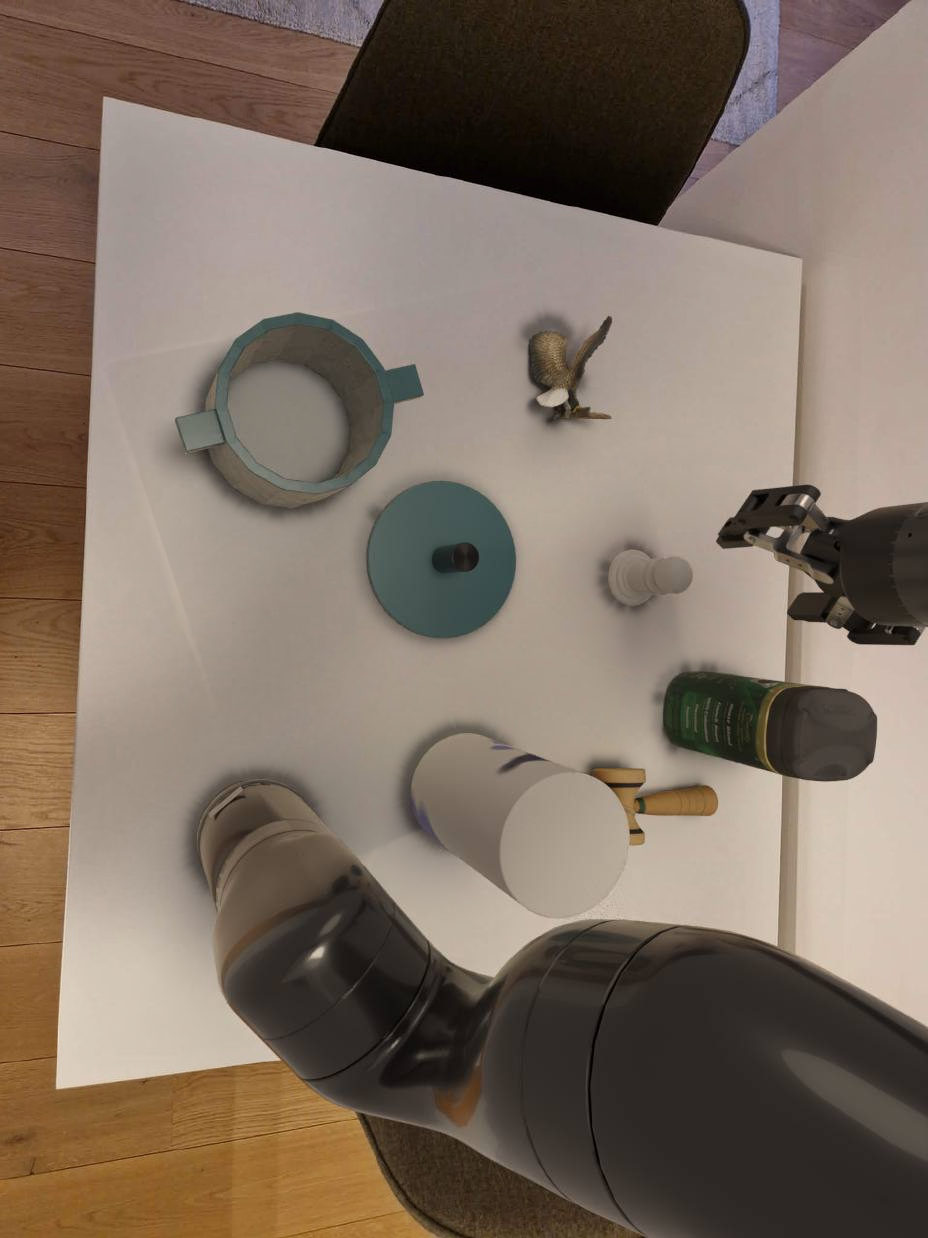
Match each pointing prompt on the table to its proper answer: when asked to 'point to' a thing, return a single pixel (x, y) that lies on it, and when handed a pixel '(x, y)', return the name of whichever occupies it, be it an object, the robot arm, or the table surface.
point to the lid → (441, 559)
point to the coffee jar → (772, 724)
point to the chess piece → (647, 576)
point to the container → (523, 822)
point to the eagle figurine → (564, 370)
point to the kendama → (654, 798)
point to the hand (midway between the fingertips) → (760, 571)
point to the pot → (332, 358)
